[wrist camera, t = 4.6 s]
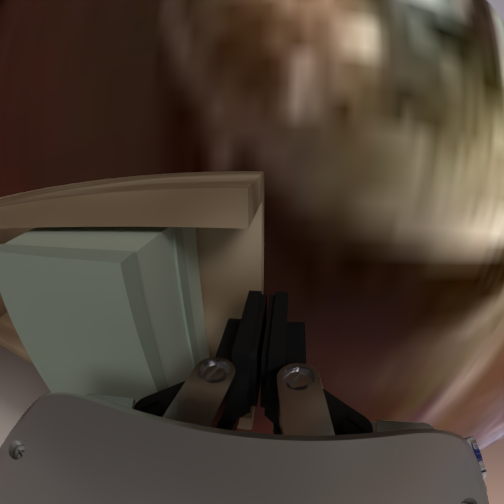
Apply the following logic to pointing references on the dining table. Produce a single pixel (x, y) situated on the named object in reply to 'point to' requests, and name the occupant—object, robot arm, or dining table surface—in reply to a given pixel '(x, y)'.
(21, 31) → the dining table surface
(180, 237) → the grey-green block
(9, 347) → the bay
